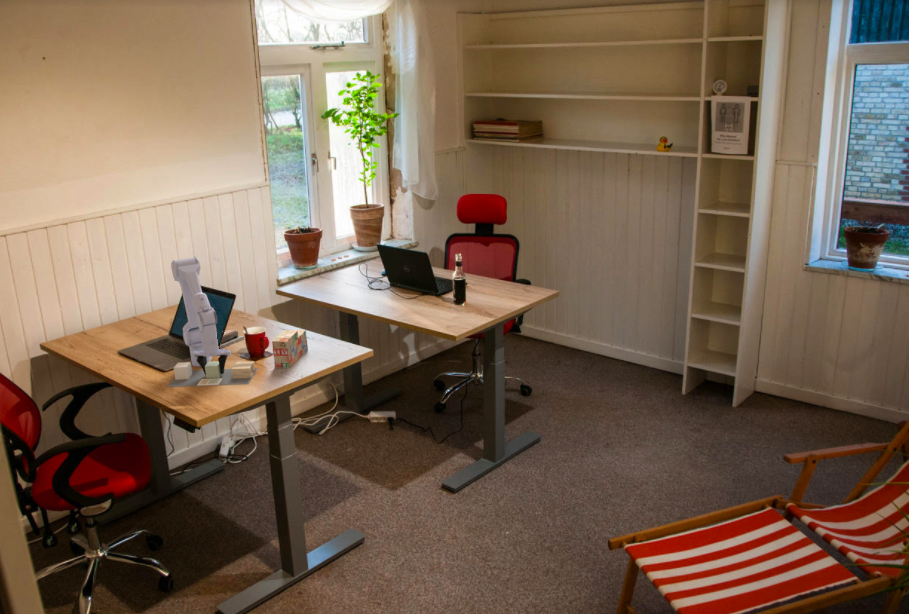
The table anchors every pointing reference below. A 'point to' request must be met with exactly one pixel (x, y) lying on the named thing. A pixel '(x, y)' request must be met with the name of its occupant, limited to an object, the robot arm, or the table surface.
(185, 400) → the table surface
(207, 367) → the sage cube
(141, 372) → the table surface
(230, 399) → the table surface
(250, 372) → the base block
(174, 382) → the mat
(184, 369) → the offwhite cube
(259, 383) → the table surface
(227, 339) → the stapler
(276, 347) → the stack of blocks
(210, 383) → the card
